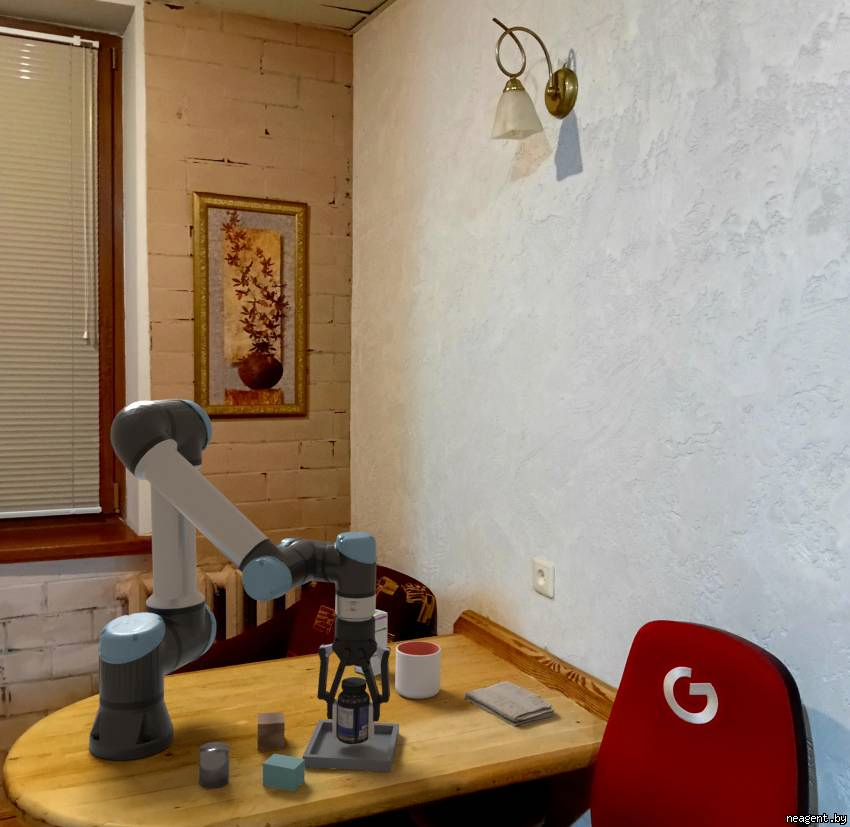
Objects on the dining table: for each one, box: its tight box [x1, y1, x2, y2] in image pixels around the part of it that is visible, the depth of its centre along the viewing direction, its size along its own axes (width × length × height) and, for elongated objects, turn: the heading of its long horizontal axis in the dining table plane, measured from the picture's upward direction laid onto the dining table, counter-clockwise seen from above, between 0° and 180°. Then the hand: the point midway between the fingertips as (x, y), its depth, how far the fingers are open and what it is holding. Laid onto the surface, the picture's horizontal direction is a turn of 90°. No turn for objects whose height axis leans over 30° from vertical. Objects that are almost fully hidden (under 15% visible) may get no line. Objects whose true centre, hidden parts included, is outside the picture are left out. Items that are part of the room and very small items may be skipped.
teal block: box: [262, 753, 306, 792], centre depth 150 cm, size 6×4×4 cm, turn 71°
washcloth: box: [463, 681, 556, 728], centre depth 185 cm, size 12×18×3 cm, turn 36°
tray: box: [301, 719, 400, 773], centre depth 163 cm, size 16×16×2 cm
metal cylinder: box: [198, 741, 230, 790], centre depth 149 cm, size 5×5×6 cm
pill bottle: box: [337, 676, 371, 744], centre depth 162 cm, size 6×6×11 cm
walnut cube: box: [257, 711, 286, 751], centre depth 165 cm, size 5×5×5 cm
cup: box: [394, 640, 442, 700], centre depth 192 cm, size 10×10×10 cm
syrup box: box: [353, 609, 388, 677], centre depth 203 cm, size 6×6×14 cm
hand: (353, 736), depth 163 cm, fingers closed on pill bottle, 6 cm apart
